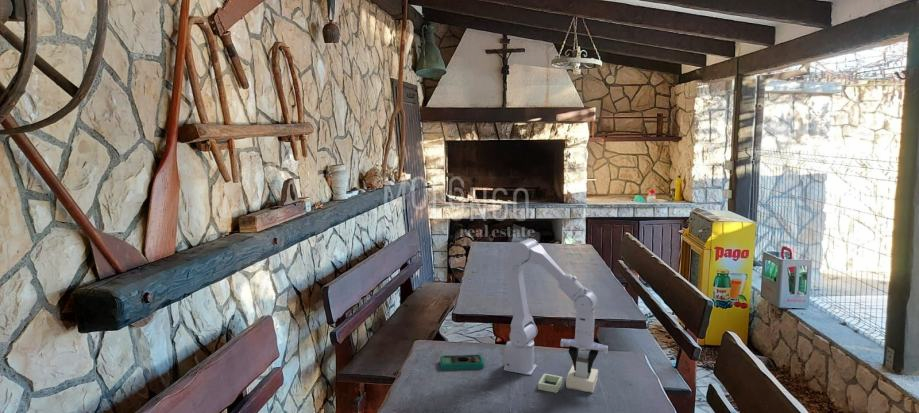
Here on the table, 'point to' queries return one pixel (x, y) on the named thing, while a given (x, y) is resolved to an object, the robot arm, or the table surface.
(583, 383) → the frame
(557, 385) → the pale green rectangular frame
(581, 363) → the plug
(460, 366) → the digital multimeter
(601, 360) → the table surface
